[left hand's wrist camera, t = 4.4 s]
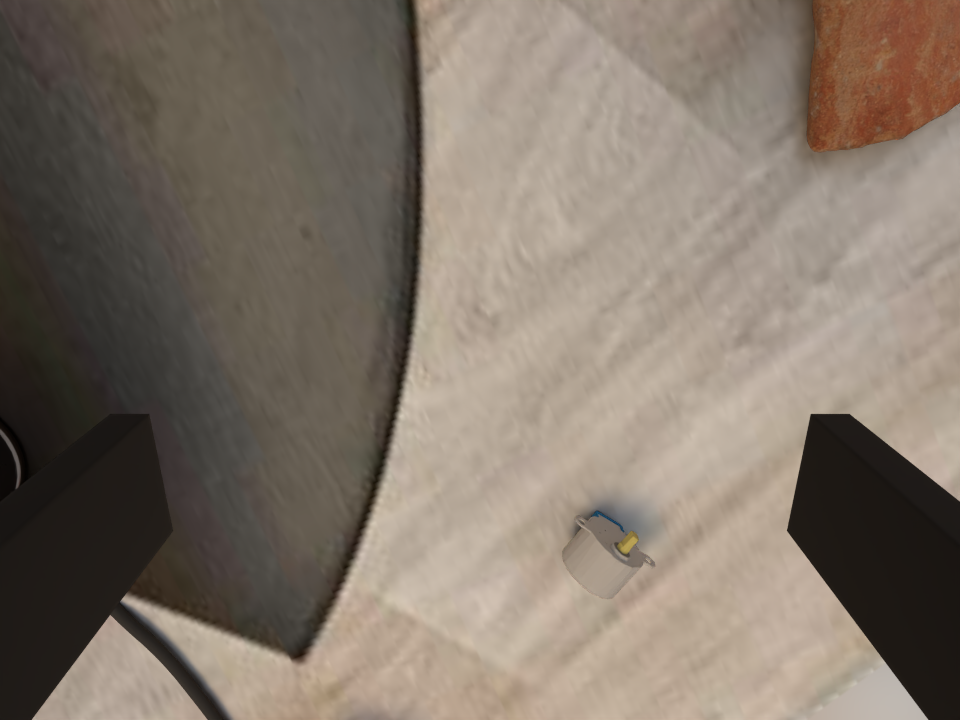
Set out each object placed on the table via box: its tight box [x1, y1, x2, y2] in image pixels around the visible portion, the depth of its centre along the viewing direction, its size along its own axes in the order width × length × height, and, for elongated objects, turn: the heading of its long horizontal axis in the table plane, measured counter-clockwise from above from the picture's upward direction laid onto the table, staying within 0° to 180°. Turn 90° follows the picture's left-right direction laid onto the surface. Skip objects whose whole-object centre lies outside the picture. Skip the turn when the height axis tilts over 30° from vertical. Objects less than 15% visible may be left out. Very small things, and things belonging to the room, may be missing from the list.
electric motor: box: [562, 511, 655, 599], centre depth 44 cm, size 7×5×5 cm
